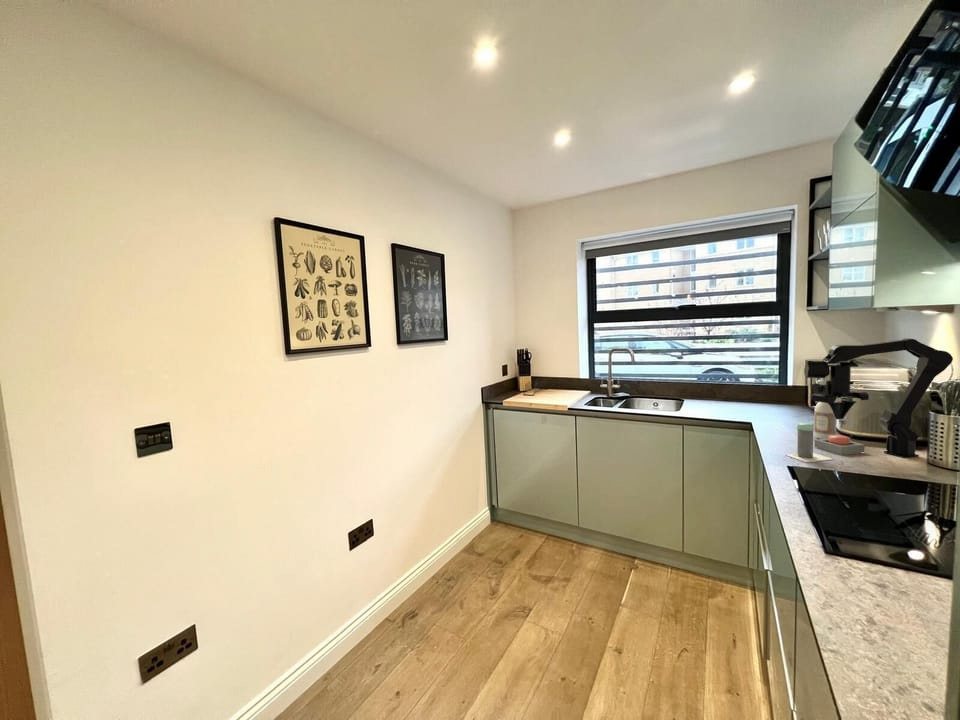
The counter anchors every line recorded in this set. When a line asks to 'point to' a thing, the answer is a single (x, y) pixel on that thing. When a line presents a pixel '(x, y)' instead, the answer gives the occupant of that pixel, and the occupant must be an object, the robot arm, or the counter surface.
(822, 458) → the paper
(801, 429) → the grey green-topped canister
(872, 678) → the counter surface
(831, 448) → the button box
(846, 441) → the button
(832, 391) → the robot arm
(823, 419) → the bath foam
